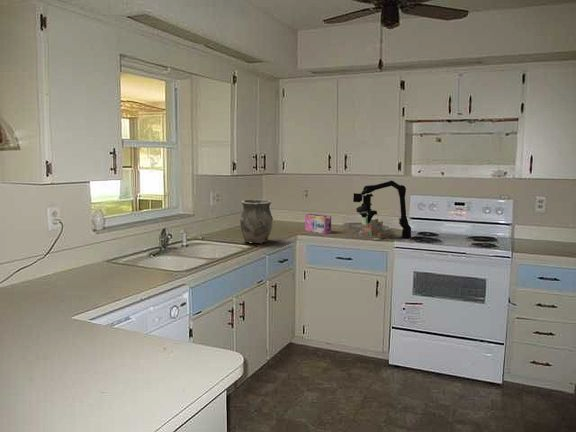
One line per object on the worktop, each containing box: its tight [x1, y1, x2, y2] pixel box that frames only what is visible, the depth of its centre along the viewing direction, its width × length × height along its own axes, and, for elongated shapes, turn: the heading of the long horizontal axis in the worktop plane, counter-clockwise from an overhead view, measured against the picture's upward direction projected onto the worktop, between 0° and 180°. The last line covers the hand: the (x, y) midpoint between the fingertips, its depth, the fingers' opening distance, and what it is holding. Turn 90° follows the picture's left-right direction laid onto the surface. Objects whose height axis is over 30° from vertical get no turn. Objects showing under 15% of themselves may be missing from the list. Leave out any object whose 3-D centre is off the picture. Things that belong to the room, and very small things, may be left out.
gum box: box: [304, 213, 332, 235], centre depth 384 cm, size 24×8×14 cm, turn 43°
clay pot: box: [239, 198, 274, 244], centre depth 338 cm, size 22×23×30 cm
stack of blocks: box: [363, 217, 384, 237], centre depth 377 cm, size 21×6×12 cm, turn 145°
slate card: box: [369, 237, 384, 242], centre depth 350 cm, size 7×7×1 cm
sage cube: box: [361, 216, 371, 226], centre depth 359 cm, size 5×5×5 cm
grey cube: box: [382, 227, 392, 236], centre depth 370 cm, size 5×5×5 cm
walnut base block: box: [373, 231, 390, 239], centre depth 359 cm, size 8×8×4 cm
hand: (366, 222), depth 360 cm, fingers closed on sage cube, 5 cm apart
